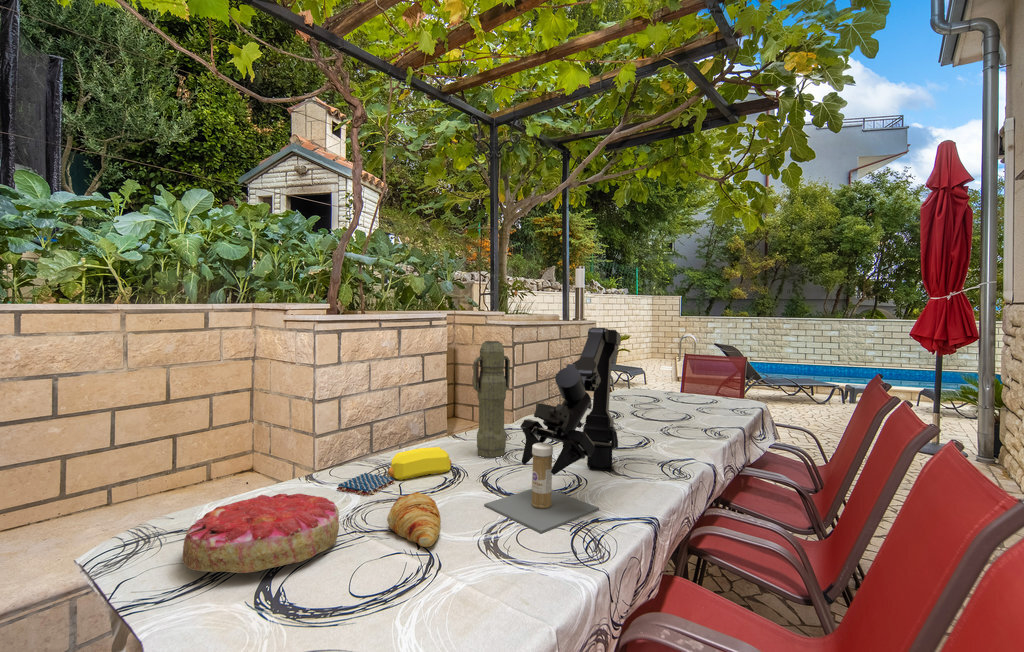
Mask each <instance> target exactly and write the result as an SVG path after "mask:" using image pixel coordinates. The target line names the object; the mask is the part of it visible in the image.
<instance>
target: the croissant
mask: <svg viewBox="0 0 1024 652" xmlns="http://www.w3.org/2000/svg"><path fill="white" fill-rule="evenodd" d="M386 520H387V524H388V526H389V528H390V529H391V530H392V531H394V533H395V534H397V535H399V536H400V537H402V538H404V539H406V540H408V541H409V542H412V543H416V544H417V545H418V546H420V547H422V548H429V547H432V546H433V545H434V544H435V543H436V541H437V540H438V539H439V538H438V537H439V535H440V533H441V529H442V527H441V525H442V524H441V522H442V521H441V514H440V510H439V507H438V505H437V504H436V501H435V500H434V499H433V498H432V497H430V496H429V495H427V494H425V493H420V492H419V491H415V492H413V493H410V494H406V495H404V496H399V497H398V498H397V501H395V502H394V503H393V505H392V506H391V508H390V510H389V512H388V515H387V517H386Z"/></svg>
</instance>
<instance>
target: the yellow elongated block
mask: <svg viewBox="0 0 1024 652" xmlns="http://www.w3.org/2000/svg"><path fill="white" fill-rule="evenodd" d="M451 468H452V460H451V459H450V455H449V453H448V452H447V451H446V450H445V449H442V448H441V447H440V446H434V447H432V446H431V447H419V448H415V449H409V450H405V451H401V452H396V454H395V455H394V456H393V458H391V464H390V468H388V471H387V475H388V476H389V477H392V479H393V478H394V480H395V479H396V480H399V481H404V480H403V479H405V480H408V479H407V478H410V479H413V478H412V477H415V478H417V476H418V477H421V476H428V474H431V475H435V474H434V473H439V474H443V473H442V472H446V473H447V472H449V471H451ZM389 477H388V478H389Z"/></svg>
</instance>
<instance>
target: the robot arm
mask: <svg viewBox="0 0 1024 652" xmlns="http://www.w3.org/2000/svg"><path fill="white" fill-rule="evenodd" d="M621 337H622V336H621V333H620V332H618V331H617V329H609V328H606V327H590V328H588V330H587V339H586V341H585V344H584V346H583V349H582V351H581V354H580V356H579V359H577V360H575V361H574V362H572V363H567V364H566V367H564V368H561V369H560V370H559V371H558V372H557V373H556V374H555V376H554V380H555V384H556V386H557V389H558V392H559V393H560V396H561V398H562V400H563V401H562V403H560V404H559V403H558V404H557V405H555V406H553V405H551V404H545V403H540V402H537V404H536V408H535V411H534V415H533V417H534V418H535V419H536V418H538V419H540V420H542V423H543V425H544V426H545V427H547V428H544V427H543V425H542V423H540V422H539V421H538V420H533V419H531V418H528V419H524V420H523V421H522V423H521V425H520V429H521V430H522V433H523V434H524V436H525V445H524V449H523V454H522V457H521V463H522V464H523V465H524V466H525V465H527V463H528V462H530V460H531V459H533V454H532V446H533V444H536V443H546V440H547V439H548V440H553V441H557V442H560V443H562V449H561V451H560V453H559V455H558V456H557V458H556V461H554V464H552V470H551V473H552V476H555V475H556V474H558V473H560V472H561V471H563V470H564V469H566V468H567V467H569V466H570V465H572V464H573V463H576V462H577V461H580V460H581V459H583V460H584V459H587V460H586V461H587V463H586V464H587V466H588V470H592V471H608V472H613V471H614V469H613V467H614V466H613V450H614V449H618V448H619V438H618V437H619V436H618V432H617V430H616V427H615V426H614V425H615V424H614V423H615V422H614V419H613V416H612V415H611V413H610V397H611V396H610V395H611V394H610V393H611V381H612V379H611V378H612V366H613V365H612V363H613V362H612V361H613V359H614V358H615V356H617V355H618V352H619V346H621V340H622V338H621ZM588 392H593V398H592V397H590V394H589V393H588ZM588 409H589V410H590V409H592V410H591V411H590V412H589V414H587V415H586V416H585V424H584V425H583V423H582V422H581V421H582V419H583V417H584V415H585V414H586V412H587V410H588ZM582 426H583V428H582ZM577 428H579V429H581V428H582V431H581V430H576V429H577Z"/></svg>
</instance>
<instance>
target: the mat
mask: <svg viewBox="0 0 1024 652" xmlns="http://www.w3.org/2000/svg"><path fill="white" fill-rule="evenodd" d="M531 502H532V488H530V489H527V490H524V491H521V492H520V491H519V492H518V493H514V494H511V495H509V496H508V495H507V496H505V497H502V498H498V499H494V500H492V501H490V502H486V503H484V504H483V506H484V508H487V509H489V510H492V511H494V512H495V513H498V514H500V515H502V516H504V517H506V518H508V519H510V520H512V521H514V522H516V523H518V524H521V525H523V526H525V527H527V528H529V529H531V530H533V531H535V532H537V533H539V534H543V533H546V532H548V531H551V530H554V529H555V528H559V527H560V526H563V525H565V524H568V523H571V522H573V521H576V520H578V519H580V517H581V518H583V517H585V516H588V515H589V514H592V513H595V512H597V511H600V506H596V505H594V504H591V503H588V502H586V501H584V500H581V499H578V498H575V497H573V496H570V495H567V494H565V493H562V492H559V491H556V490H553V489H552V491H551V503H552V504H551V506H550V507H548V508H542V509H541V508H536V507H534V506H533V505H532V504H531ZM575 519H576V520H575ZM570 521H571V522H570Z"/></svg>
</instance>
